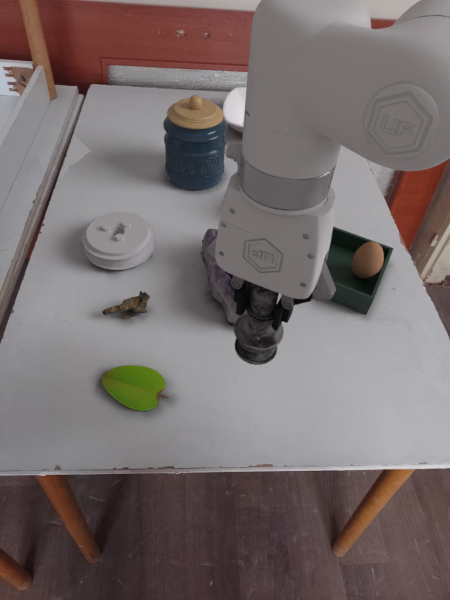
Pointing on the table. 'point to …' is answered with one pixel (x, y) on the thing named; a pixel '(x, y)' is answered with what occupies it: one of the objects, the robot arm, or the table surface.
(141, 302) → the cat figurine
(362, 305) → the box
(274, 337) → the grey tall stone piece
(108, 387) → the decorative leaf
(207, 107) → the canister
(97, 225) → the lid
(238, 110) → the bowl
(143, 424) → the table surface
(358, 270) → the egg
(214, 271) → the geode
